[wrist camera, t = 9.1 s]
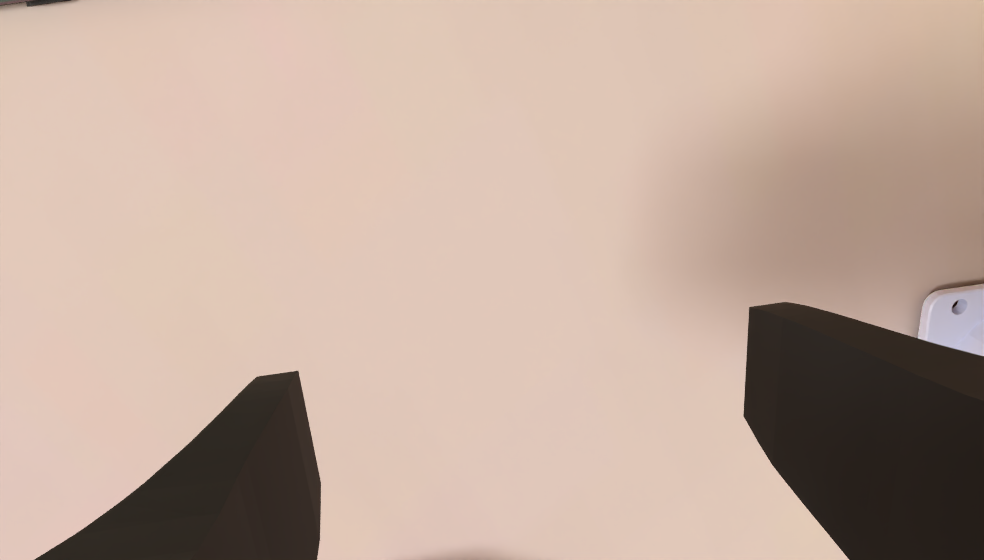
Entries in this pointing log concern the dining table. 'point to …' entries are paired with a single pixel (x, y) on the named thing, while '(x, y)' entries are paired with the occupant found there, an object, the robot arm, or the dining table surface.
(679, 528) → the dining table surface
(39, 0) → the smartphone
